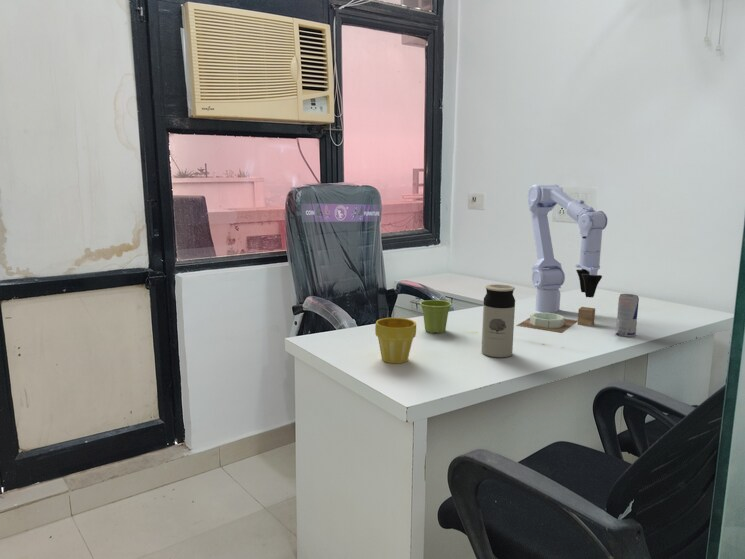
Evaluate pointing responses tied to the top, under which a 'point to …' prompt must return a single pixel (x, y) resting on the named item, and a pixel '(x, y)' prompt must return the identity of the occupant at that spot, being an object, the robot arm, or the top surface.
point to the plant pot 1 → (395, 338)
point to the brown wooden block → (586, 316)
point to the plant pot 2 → (435, 315)
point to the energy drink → (627, 315)
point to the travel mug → (498, 320)
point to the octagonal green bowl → (547, 320)
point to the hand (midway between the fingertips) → (587, 294)
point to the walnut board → (567, 324)
